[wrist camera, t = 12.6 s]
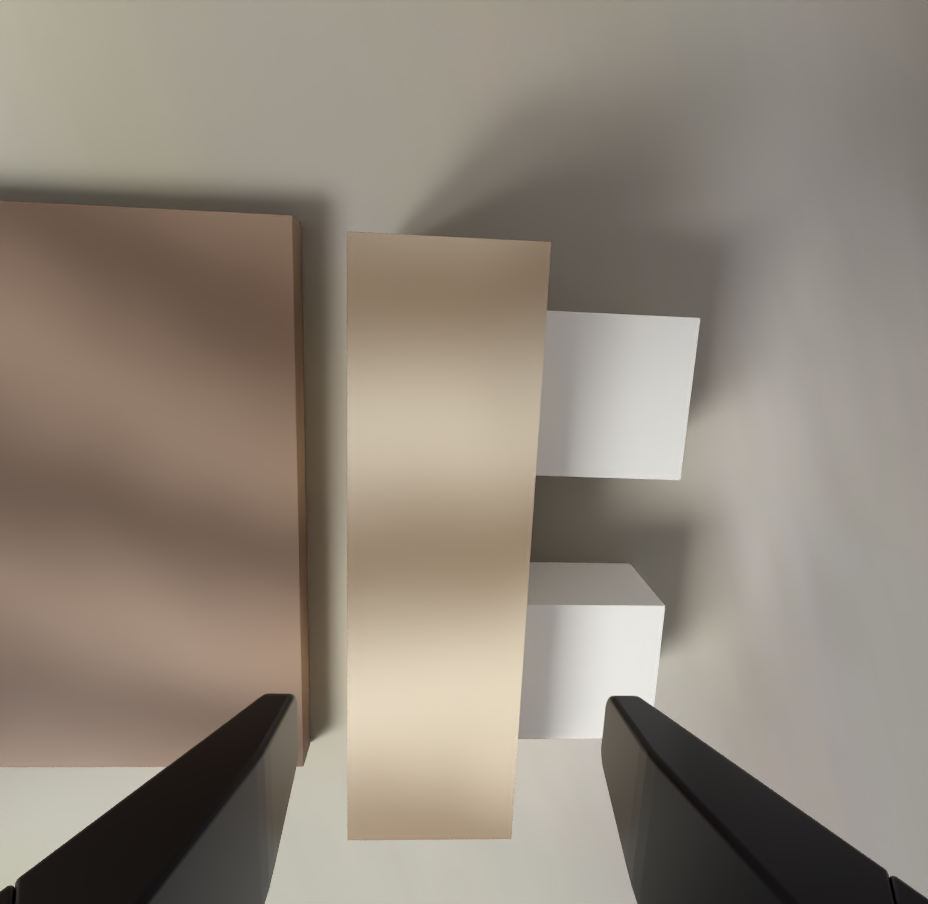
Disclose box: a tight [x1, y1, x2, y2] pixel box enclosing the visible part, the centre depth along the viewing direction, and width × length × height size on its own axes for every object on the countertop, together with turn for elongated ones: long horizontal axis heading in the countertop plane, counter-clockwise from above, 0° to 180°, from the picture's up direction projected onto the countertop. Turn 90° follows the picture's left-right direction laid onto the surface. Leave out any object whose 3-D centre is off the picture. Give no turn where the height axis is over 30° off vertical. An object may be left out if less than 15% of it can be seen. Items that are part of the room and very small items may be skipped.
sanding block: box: [347, 232, 551, 840], centre depth 15 cm, size 14×4×5 cm, turn 178°
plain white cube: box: [518, 562, 665, 739], centre depth 17 cm, size 4×4×3 cm
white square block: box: [536, 311, 700, 480], centre depth 16 cm, size 4×4×3 cm
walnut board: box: [0, 201, 310, 767], centre depth 16 cm, size 16×14×1 cm
